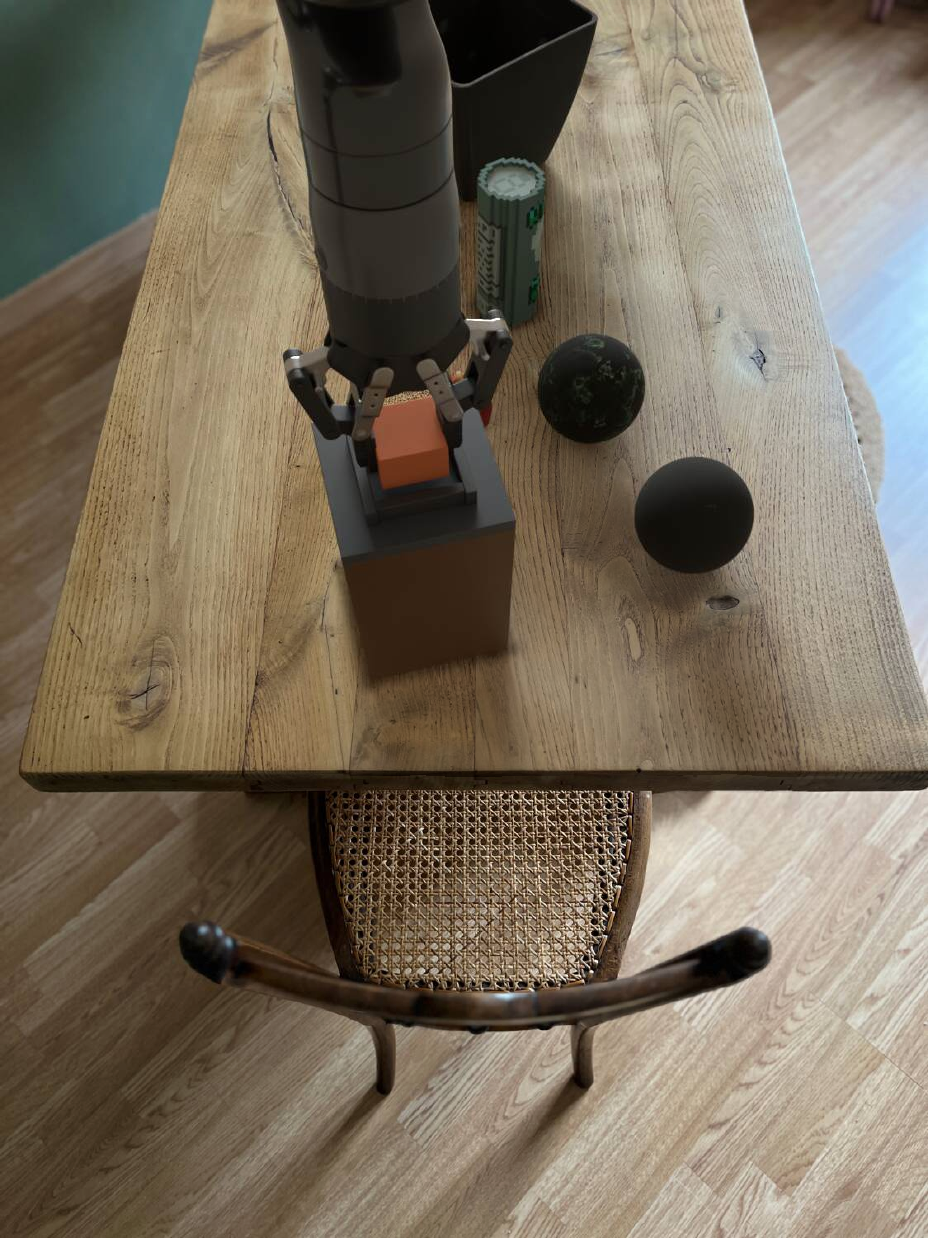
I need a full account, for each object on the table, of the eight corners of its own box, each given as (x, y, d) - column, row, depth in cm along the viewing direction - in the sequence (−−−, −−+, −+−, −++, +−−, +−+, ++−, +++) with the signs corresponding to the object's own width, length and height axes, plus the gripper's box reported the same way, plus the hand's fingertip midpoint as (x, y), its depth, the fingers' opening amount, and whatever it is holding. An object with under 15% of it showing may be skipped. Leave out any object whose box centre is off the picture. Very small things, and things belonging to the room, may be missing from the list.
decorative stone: (574, 371, 94) (584, 293, 85) (656, 419, 91) (675, 343, 82) (513, 430, 90) (517, 355, 81) (596, 482, 87) (610, 410, 78)
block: (382, 490, 61) (378, 461, 59) (369, 438, 64) (364, 409, 61) (449, 476, 62) (448, 447, 59) (433, 425, 64) (432, 395, 62)
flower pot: (463, 232, 104) (460, 85, 90) (365, 152, 112) (348, 3, 97) (586, 165, 110) (603, 15, 95) (486, 92, 117) (487, -57, 102)
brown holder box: (370, 681, 77) (338, 546, 59) (343, 564, 83) (307, 409, 65) (507, 649, 78) (517, 508, 61) (472, 536, 84) (472, 376, 66)
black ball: (753, 583, 81) (787, 518, 73) (645, 604, 80) (666, 540, 72) (715, 494, 86) (742, 422, 77) (612, 513, 85) (628, 443, 76)
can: (546, 311, 98) (557, 185, 85) (497, 333, 96) (501, 208, 83) (515, 278, 101) (521, 150, 87) (467, 298, 99) (466, 171, 86)
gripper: (501, 176, 50) (495, 395, 65) (241, 220, 49) (296, 434, 64) (540, 267, 47) (524, 476, 62) (261, 318, 45) (314, 520, 60)
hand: (408, 454), depth 62 cm, fingers closed on block, 4 cm apart
